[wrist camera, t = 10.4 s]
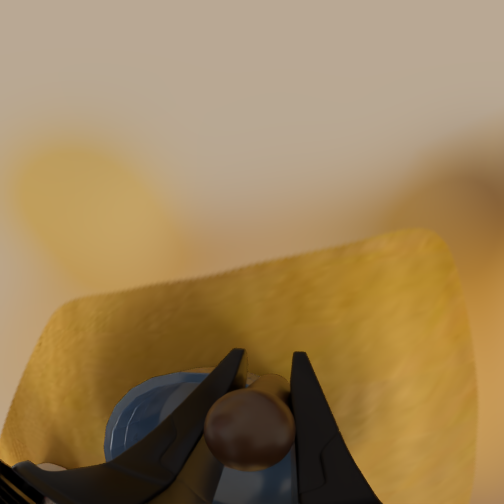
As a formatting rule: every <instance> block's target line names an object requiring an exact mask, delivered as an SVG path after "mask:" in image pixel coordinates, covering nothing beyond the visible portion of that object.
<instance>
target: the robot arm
mask: <svg viewBox="0 0 504 504" xmlns="http://www.w3.org/2000/svg"><path fill="white" fill-rule="evenodd" d="M247 373H248V359H247V352H246V350H245V349H242V348H234V349H232V350H231V351H230V353H229V354H228V355H227V356H226V357H225V358H224V359H223V360H222V361H221V362H220V363H219V364H218V365H217V366H216V367H215V369H214V370H213V371H212V372H211V373H210V374H209V375H208V376H207V377H206V378H205V379H204V380H203V381H202V382H201V383H200V384H199V385H198V386H197V387H196V388H195V389H194V390H193V391H192V392H191V393H190V394H189V395H188V396H187V397H186V399H185V400H184V401H183V402H182V403H181V404H180V405H179V406H178V407H177V408H176V409H175V410H174V411H173V412H172V413H171V414H172V415H171V414H169V415H168V416H167V417H166V418H165V419H164V420H163V421H162V422H161V423H160V424H159V425H158V426H157V427H156V428H155V429H153V430H152V431H151V432H150V433H149V434H147V435H146V436H145V437H143V438H142V439H141V440H140V441H138V442H137V443H135V444H134V445H133V446H131V447H130V448H129V449H127V450H126V451H124V452H123V453H122V454H120V455H119V456H117V457H116V458H114V459H112V460H110V461H108V462H106V463H103V464H99V465H94V466H88V467H82V468H76V469H69V470H61V471H47V470H43V469H41V468H39V467H38V466H37V465H35V464H34V463H32V462H31V461H29V460H27V461H23V462H19V463H17V464H15V465H14V466H12V467H11V466H9V465H8V464H6V463H5V462H4V461H2V460H1V459H0V504H212V502H213V499H214V496H215V493H216V490H217V487H218V484H219V481H220V478H221V475H222V472H223V469H224V464H222V463H221V462H220V461H218V460H217V459H216V458H215V457H214V456H213V454H212V453H211V452H210V450H209V448H208V446H207V444H206V441H205V438H204V422H205V418H206V416H207V413H208V411H209V410H210V408H211V407H212V405H213V404H214V403H215V402H216V401H217V400H218V399H219V398H221V397H222V396H223V395H225V394H227V393H229V392H232V391H235V390H238V389H244V388H245V387H246V380H247ZM290 411H291V413H292V415H293V417H294V421H295V427H296V434H295V439H294V442H293V445H292V447H291V449H290V452H291V504H383V503H382V502H381V501H380V500H379V499H378V497H377V496H376V495H375V493H374V492H373V490H372V489H371V487H370V485H369V484H368V482H367V481H366V479H365V477H364V476H363V474H362V473H361V471H360V470H359V468H358V466H357V465H356V463H355V461H354V459H353V458H352V456H351V454H350V452H349V450H348V448H347V446H346V444H345V442H344V439H343V437H342V435H341V432H340V431H339V428H338V426H337V423H336V421H335V419H334V416H333V414H332V412H331V409H330V407H329V405H328V402H327V400H326V398H325V395H324V393H323V391H322V388H321V386H320V384H319V381H318V379H317V377H316V374H315V372H314V370H313V367H312V365H311V363H310V360H309V358H308V356H307V354H306V352H299V351H295V352H294V353H293V359H292V368H291V377H290Z"/></svg>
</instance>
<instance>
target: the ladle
mask: <svg viewBox="0 0 504 504" xmlns="http://www.w3.org/2000/svg"><path fill="white" fill-rule="evenodd" d="M295 434H296V427H295V421H294V417H293V415H292V413H291V411H290V384H289V382H288V381H287V380H286V379H285V378H283V377H282V376H279V375H276V374H266V375H263V376H261V377H259V378H257V379H256V380H255V381H254V382H253V383H251V384H250V385H249V386H248V387H247V388H244V389H238V390H235V391H232V392H229V393H227V394H225V395H223V396H222V397H221V398H219V399H218V400H217V401H216V402H215V403H214V404H213V405H212V407H211V408H210V410H209V411H208V413H207V416H206V418H205V422H204V438H205V441H206V444H207V446H208V448H209V450H210V452H211V453H212V454H213V456H214V457H215V458H216V459H217V460H218V461H220V462H221V463H222V464H224V467H226V468H230V469H235V470H239V471H246V472H254V471H261V470H265V469H267V468H270V467H272V466H274V465H276V464H277V463H279V462H280V461H281V460H282V459H283V458H284V457H285V456H286V455H287V454H288V452H289V451H290V449H291V447H292V445H293V442H294V439H295Z"/></svg>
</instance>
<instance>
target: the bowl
mask: <svg viewBox="0 0 504 504" xmlns="http://www.w3.org/2000/svg"><path fill="white" fill-rule="evenodd" d="M214 369H215V367H199V368H194V369H190V370H185V371H180V372H176V373H171V374H166V375H162V376H157V377H153V378H150V379H149V380H147V381H145V382H143V383H141V384H139V385H137V386H136V387H134V388H132V389H131V390H130V391H129V392H128V393H127V394H126V395H125V396H124V397H123V398H122V399H121V400H120V401H119V402H118V403H117V404H116V406H115V407H114V410H113V412H112V414H111V416H110V418H109V421H108V423H107V426H106V432H105V441H104V453H105V459H106V462H108V461H110V460H112V459H114V458H116V457H117V456H119V455H120V454H122V453H123V452H124V451H126V450H127V449H129V448H130V447H131V446H133V445H134V444H135V443H137V442H138V441H140V440H141V439H142V438H143V437H145V436H146V435H147V434H149V433H150V432H151V431H152V430H153V429H155V428H156V427H157V426H158V425H159V424H160V423H161V422H162V421H163V420H164V419H165V418H166V417H167V416H168V415H169V414H171V413H172V412H173V411H174V410H175V409H176V408H177V407H178V406H179V405H180V404H181V403H182V402H183V401H184V400H185V399H186V397H187V396H188V395H189V394H190V393H191V392H192V391H193V390H194V389H195V388H196V387H197V386H198V385H199V384H200V383H201V382H202V381H203V380H204V379H205V378H206V377H207V376H208V375H209V374H210V373H211V372H212V371H213V370H214ZM259 377H260V376H258V375H255V374H252V373H249V372H248V373H247V380H246V387H245V388H247V387H248V386H249V385H250V384H251V383H253V382H254V381H255V380H256V379H257V378H259ZM171 415H172V414H171ZM212 504H291V452H290V451H289V452H288V454H287V455H286V456H285V457H284V458H283V459H282V460H281V461H280V462H279V463H277V464H276V465H274V466H272V467H270V468H267V469H265V470H261V471H254V472H246V471H239V470H235V469H230V468H226V467H224V469H223V472H222V475H221V478H220V481H219V484H218V487H217V490H216V493H215V496H214V499H213V502H212Z"/></svg>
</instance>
